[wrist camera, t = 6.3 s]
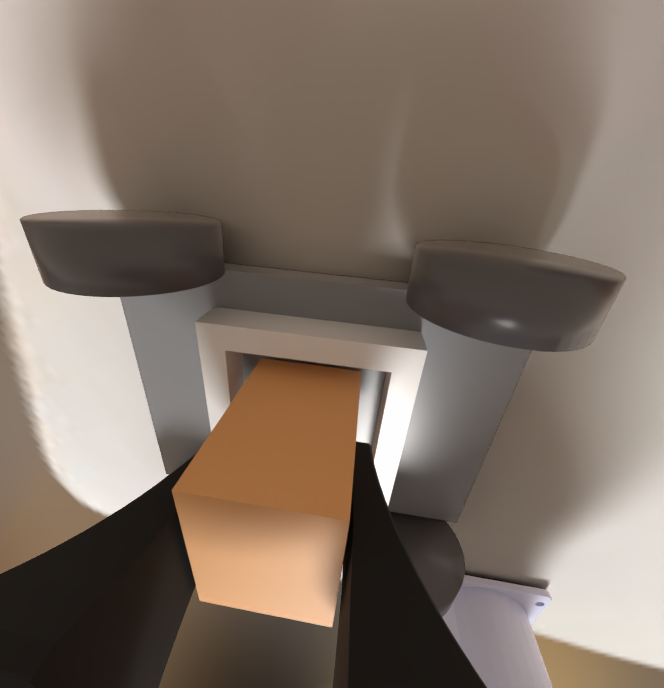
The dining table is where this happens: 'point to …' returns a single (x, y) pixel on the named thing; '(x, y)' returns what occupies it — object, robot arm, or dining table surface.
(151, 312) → the chassis
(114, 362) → the dining table surface
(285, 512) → the block
